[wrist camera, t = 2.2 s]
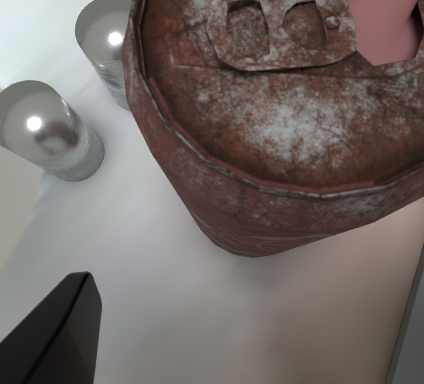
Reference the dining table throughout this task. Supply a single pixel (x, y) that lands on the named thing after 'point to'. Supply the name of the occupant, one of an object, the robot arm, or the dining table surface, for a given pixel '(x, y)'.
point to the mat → (411, 337)
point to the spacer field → (59, 109)
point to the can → (280, 112)
